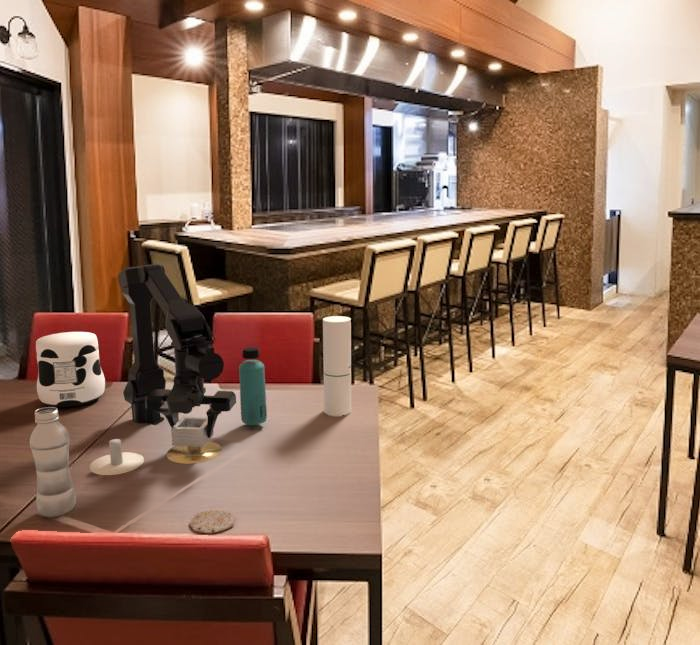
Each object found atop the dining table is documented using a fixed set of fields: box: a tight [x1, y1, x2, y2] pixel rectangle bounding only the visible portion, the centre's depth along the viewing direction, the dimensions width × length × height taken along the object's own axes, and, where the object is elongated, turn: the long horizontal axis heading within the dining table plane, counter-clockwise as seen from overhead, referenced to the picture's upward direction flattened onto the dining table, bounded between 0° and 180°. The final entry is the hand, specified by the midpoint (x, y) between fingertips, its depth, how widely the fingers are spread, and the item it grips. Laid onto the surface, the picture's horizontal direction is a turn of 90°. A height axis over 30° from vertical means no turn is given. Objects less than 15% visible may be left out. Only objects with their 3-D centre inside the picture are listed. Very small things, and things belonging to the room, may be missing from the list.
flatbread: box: [189, 509, 236, 534], centre depth 114 cm, size 8×8×1 cm
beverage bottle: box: [238, 346, 268, 426], centre depth 156 cm, size 6×7×20 cm
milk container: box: [35, 331, 106, 408], centre depth 175 cm, size 17×17×18 cm
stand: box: [88, 438, 145, 476], centre depth 135 cm, size 11×11×6 cm
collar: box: [170, 416, 215, 447], centre depth 140 cm, size 7×7×4 cm
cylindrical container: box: [322, 315, 352, 417], centre depth 165 cm, size 7×7×25 cm
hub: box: [166, 440, 223, 465], centre depth 141 cm, size 12×12×6 cm
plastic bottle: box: [29, 406, 77, 518], centre depth 115 cm, size 6×7×20 cm
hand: (193, 436), depth 141 cm, fingers closed on collar, 7 cm apart
